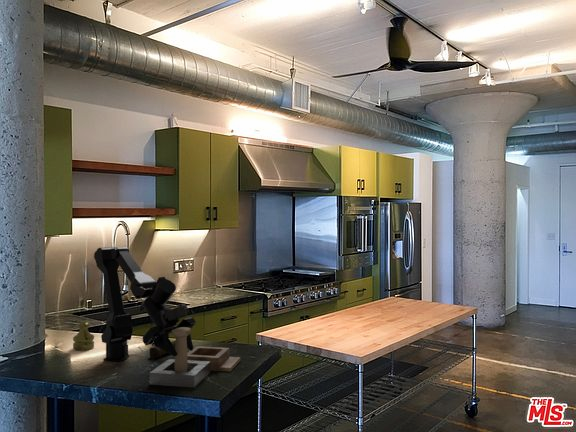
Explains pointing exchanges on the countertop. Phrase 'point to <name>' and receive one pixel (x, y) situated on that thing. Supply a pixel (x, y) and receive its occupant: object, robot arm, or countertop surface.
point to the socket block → (180, 374)
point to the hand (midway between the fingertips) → (184, 352)
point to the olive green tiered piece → (83, 338)
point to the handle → (181, 348)
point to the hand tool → (159, 351)
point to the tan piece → (214, 357)
